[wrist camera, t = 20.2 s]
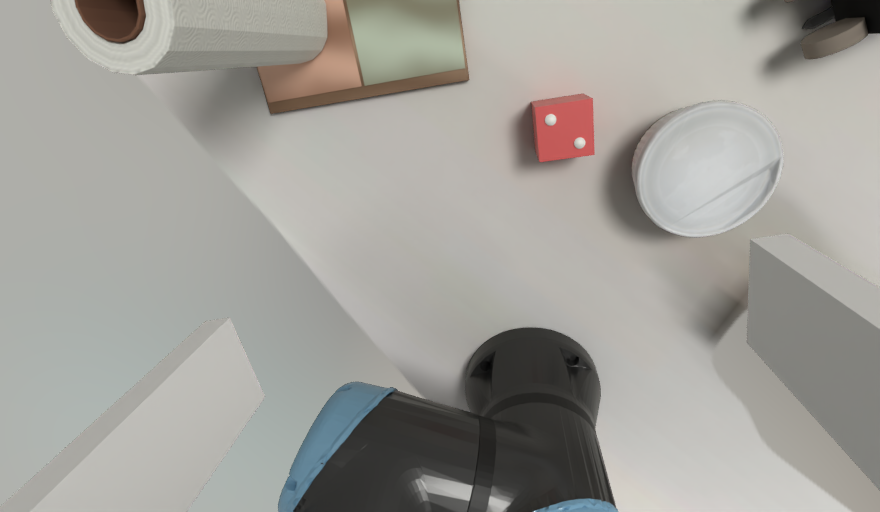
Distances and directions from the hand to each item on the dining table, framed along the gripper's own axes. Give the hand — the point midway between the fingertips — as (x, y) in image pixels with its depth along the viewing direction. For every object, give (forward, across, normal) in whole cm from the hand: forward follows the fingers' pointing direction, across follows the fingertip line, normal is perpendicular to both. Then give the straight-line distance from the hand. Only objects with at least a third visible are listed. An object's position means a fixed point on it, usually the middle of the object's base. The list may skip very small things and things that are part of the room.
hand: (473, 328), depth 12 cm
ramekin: (+34, -17, +6) cm, 39 cm away
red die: (+34, -6, 0) cm, 34 cm away
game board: (+34, +10, -13) cm, 37 cm away
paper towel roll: (+33, +14, -13) cm, 38 cm away
